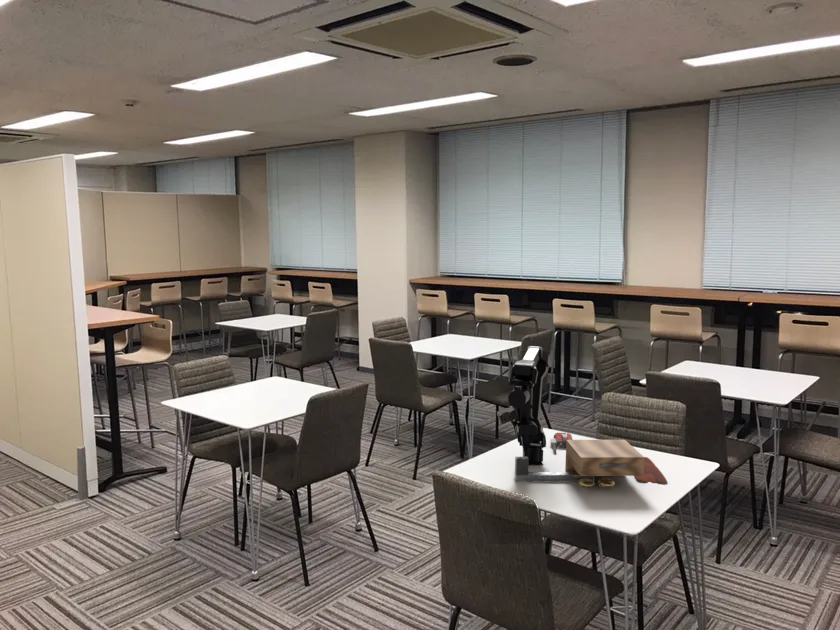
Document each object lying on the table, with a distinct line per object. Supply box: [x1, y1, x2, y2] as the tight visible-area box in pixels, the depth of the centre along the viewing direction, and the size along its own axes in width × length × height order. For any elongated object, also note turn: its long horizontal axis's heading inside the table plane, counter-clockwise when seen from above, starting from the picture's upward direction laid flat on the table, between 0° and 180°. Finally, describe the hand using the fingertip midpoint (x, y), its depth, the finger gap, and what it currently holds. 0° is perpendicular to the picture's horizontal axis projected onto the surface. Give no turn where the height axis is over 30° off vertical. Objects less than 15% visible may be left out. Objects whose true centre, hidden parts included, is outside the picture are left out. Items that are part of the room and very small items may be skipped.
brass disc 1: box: [578, 478, 595, 489], centre depth 214 cm, size 5×5×2 cm
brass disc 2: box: [597, 477, 615, 489], centre depth 214 cm, size 5×5×2 cm
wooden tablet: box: [634, 456, 668, 485], centre depth 228 cm, size 27×10×2 cm, turn 173°
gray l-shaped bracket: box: [514, 456, 595, 483], centre depth 218 cm, size 26×3×8 cm, turn 93°
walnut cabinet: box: [564, 439, 645, 477], centre depth 214 cm, size 20×19×12 cm
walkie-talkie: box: [550, 432, 574, 453], centre depth 253 cm, size 9×4×20 cm
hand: (522, 446), depth 217 cm, fingers open, 9 cm apart
